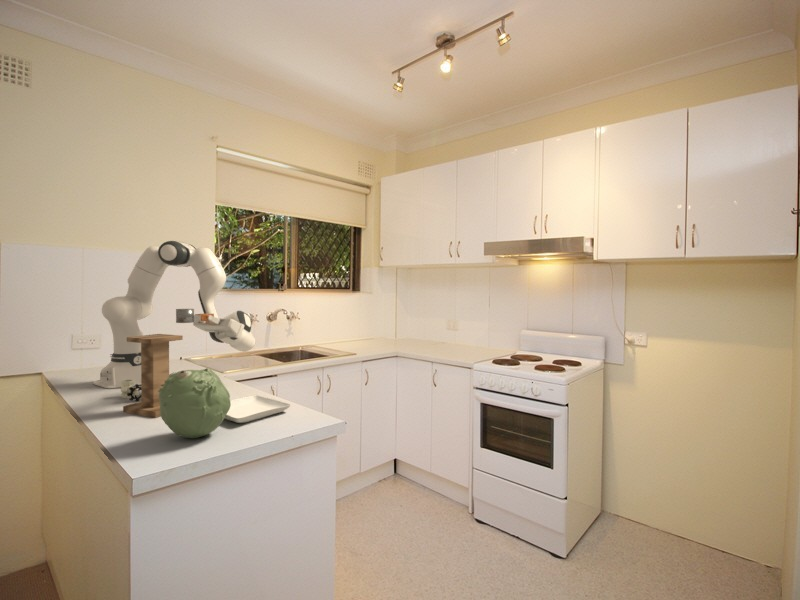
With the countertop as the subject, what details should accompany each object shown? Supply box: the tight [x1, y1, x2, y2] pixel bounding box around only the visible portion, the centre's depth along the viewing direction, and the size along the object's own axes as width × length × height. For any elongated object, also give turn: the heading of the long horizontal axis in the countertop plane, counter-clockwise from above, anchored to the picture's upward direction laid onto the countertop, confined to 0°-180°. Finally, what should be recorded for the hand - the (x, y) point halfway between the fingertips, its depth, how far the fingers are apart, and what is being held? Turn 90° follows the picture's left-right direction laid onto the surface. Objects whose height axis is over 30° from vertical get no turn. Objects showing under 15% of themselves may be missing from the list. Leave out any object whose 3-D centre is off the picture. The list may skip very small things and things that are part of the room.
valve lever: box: [175, 308, 214, 324], centre depth 158 cm, size 6×15×5 cm, turn 158°
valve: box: [120, 380, 141, 403], centre depth 158 cm, size 7×7×12 cm
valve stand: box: [122, 333, 184, 419], centre depth 143 cm, size 16×12×26 cm
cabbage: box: [158, 367, 231, 439], centre depth 118 cm, size 16×19×20 cm
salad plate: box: [224, 394, 292, 424], centre depth 141 cm, size 21×21×3 cm
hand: (203, 316), depth 161 cm, fingers closed on valve lever, 3 cm apart
